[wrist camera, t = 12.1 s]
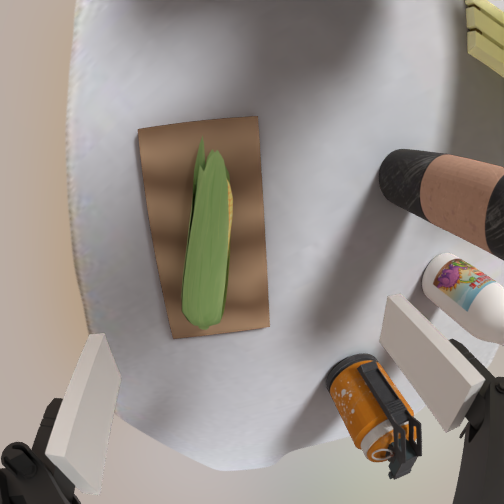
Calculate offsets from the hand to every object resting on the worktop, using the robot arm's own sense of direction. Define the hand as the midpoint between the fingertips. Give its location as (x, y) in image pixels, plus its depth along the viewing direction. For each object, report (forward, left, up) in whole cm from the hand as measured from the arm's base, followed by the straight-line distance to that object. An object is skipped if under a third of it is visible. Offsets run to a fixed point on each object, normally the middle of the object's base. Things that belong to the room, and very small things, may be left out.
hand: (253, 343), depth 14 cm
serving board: (+2, -2, -22) cm, 22 cm away
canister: (+26, +17, -22) cm, 38 cm away
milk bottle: (+12, +32, -22) cm, 40 cm away
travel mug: (-3, +23, -22) cm, 32 cm away
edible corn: (+1, -1, -21) cm, 21 cm away
